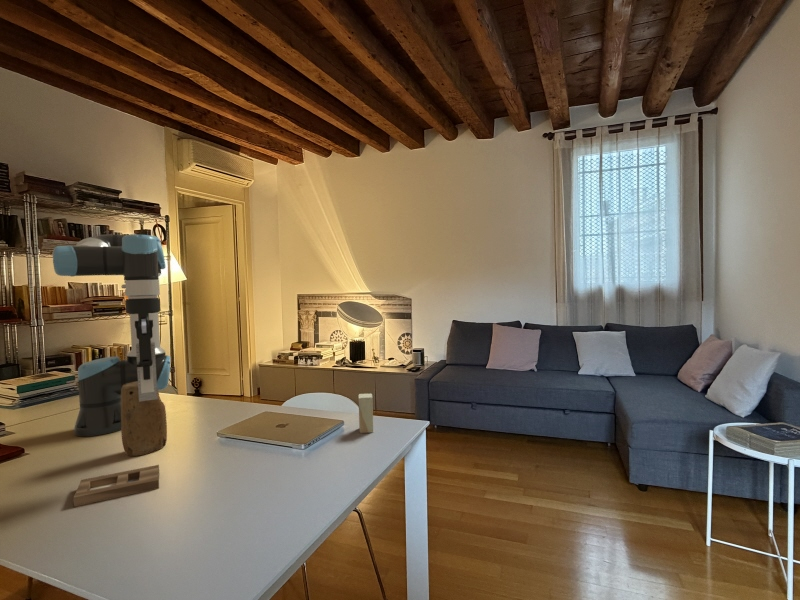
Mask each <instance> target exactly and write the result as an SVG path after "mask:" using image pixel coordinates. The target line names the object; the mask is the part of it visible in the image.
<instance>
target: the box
mask: <svg viewBox="0 0 800 600" xmlns="http://www.w3.org/2000/svg"><path fill="white" fill-rule="evenodd" d="M373 406H374V403H373V394H372V393H359V394H358V419H359V420H358V421H359V423H358V424H359V434H367V433H374V416H373V415H374V410H373V409H374V408H373Z"/></svg>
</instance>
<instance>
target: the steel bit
mask: <svg viewBox="0 0 800 600" xmlns="http://www.w3.org/2000/svg"><path fill="white" fill-rule="evenodd" d="M136 356H137V365H139V362H140V352H139V343H136ZM151 358H152V365H153V383H154V392H148V393H141V378H140V367H137V374H138V392H139V402H141V401H148V400H155V399H158V397H157V378H156V360H155V342H151Z"/></svg>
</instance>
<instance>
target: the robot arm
mask: <svg viewBox="0 0 800 600" xmlns="http://www.w3.org/2000/svg"><path fill="white" fill-rule="evenodd" d="M52 263H53V270H54V273H55V275H57V276H60V277H80V276H81V277H83V276H84V277H86V276H87V277H90V276H91V277H92V276H123V280H124V281H123V282H124V284H123V283H122V284H121V287H120V288H121V289H124V296H125V297H126V299H125V300H124V305H125V306H124V307H125V314H128V315H129V323H130V324H129V326H130V344H131V349H130V351H129V352H128V353H126V359H123V360H122V359H121V358H120V357H119V356H118V355H117V356H108V357H103V358H101V357H100V358H97V359H94V360H90V361H87V362H84V363H82V364H80V365H79V366H78V368H77V379H76V380H77V382H78V396H79V397H78V398H79V400H78V401H79V411H78V415H77V418H76V421H75V423H74V435H75V436H79V437H94V436H102V435H106V434H110V433H114V432H118V431H122V430H121V388H122V386H123V385H124V384H127V383H132V382H136V381H138V374H137V367H140V378H141V393H148V392H154V383H153V365H152V358H151V342H155V360H156V378H157V389H158V391H160V390H164V389H166V388H167V387H168V385H169V380H170V374H171V373H170V372H171V356H170V355H167V354H166V350H165V349H164V348H162V347H161V341H160V340H161V339H160V338H161V336H160V321H159V319H160V318H159V313H160V312H161V299H160V298H159V297H158V296H160V295H161V291H160V288H161V287H160V278H159V277H160V276H161V275H162V270H165V269H166V261H165V255H164V249H163V246H162V243H161V239H160V238H159V237H158V236H156V235H149V234H113V233H112V234H111V233H110V234H98V235H95V236H90V237H86V238H83V239H82V240H81V239H80V240H79V241H78V242H77V243H76V245H68V244H67V245H57V246H55V247H54V249H53V251H52ZM136 343H139V352H140V362H139V365H137V356H136Z"/></svg>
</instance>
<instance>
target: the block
mask: <svg viewBox="0 0 800 600" xmlns="http://www.w3.org/2000/svg"><path fill="white" fill-rule="evenodd" d="M157 397H158V399H155V400H148V401H141V402H139V392H138V381H136V382H132V383H127V384H124V385H123V386H122V388H121V430H120V431H121V441H122V447H123V450H124V453H125V454H126V455H127V456H129V457H131V456H137V457H138V456H143V455H148V454H150V453H152V452H156V451H158V450H162V449H163V448H164V447H165V446H166V444H167V441H168V425H167V412H166V411H167V410H166V405H165V403H164V402H163V401H162V400H161V397H160V393H159V390H158V389H157Z"/></svg>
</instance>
